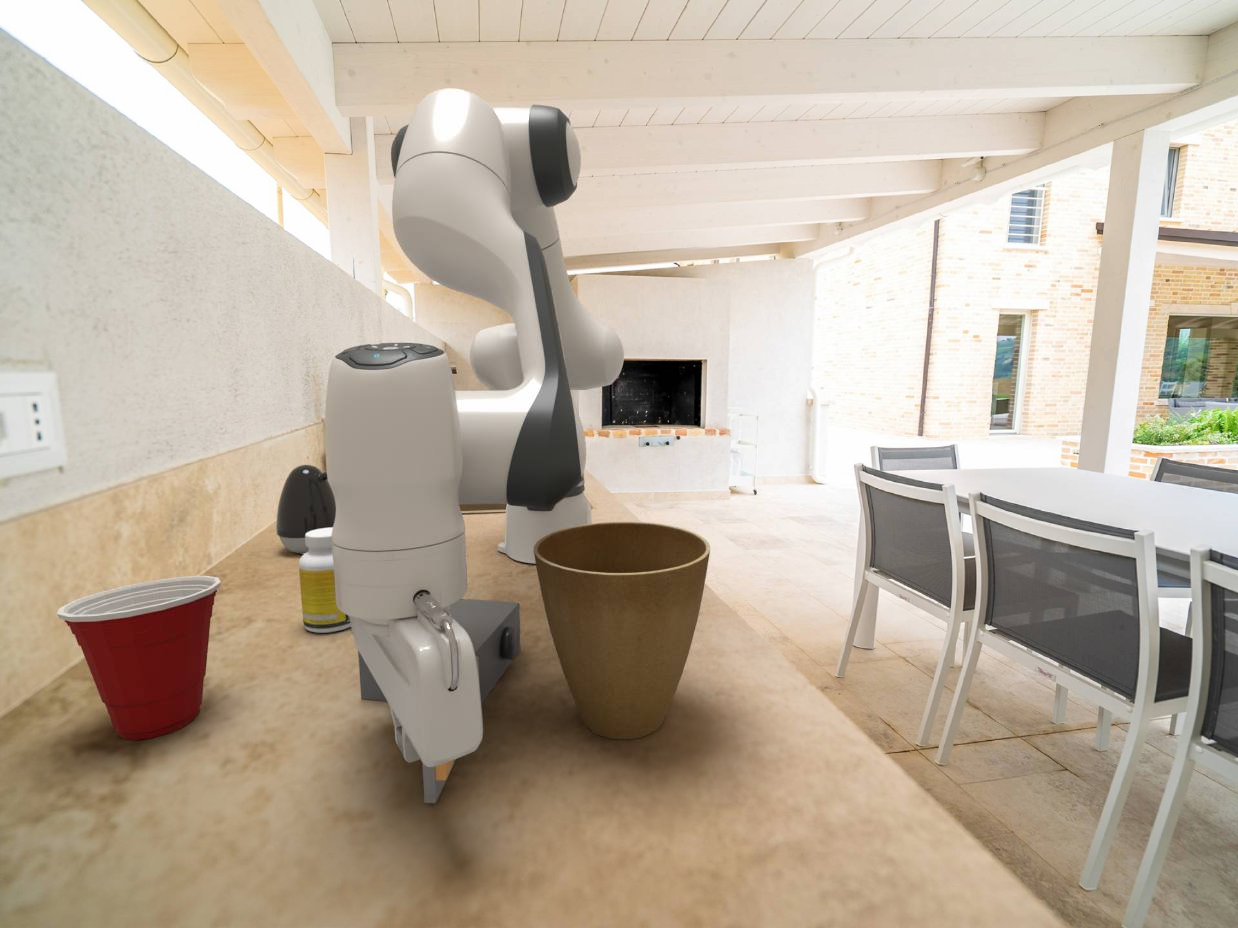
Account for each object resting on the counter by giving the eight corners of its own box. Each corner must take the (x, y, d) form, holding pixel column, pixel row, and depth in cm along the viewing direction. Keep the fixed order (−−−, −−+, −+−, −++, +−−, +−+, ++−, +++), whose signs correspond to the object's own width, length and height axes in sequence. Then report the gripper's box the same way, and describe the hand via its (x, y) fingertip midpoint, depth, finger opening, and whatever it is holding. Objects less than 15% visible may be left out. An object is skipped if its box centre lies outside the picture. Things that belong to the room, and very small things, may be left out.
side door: (421, 802, 40) (418, 736, 40) (468, 707, 52) (466, 655, 52) (445, 803, 40) (442, 737, 40) (487, 707, 52) (485, 655, 52)
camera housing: (424, 642, 66) (421, 591, 65) (529, 650, 64) (528, 598, 63) (360, 699, 54) (356, 638, 53) (487, 711, 52) (484, 648, 51)
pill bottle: (339, 637, 67) (332, 540, 66) (291, 632, 69) (283, 537, 67) (373, 615, 74) (367, 526, 72) (328, 611, 75) (322, 524, 73)
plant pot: (550, 673, 59) (548, 520, 57) (697, 675, 59) (700, 521, 56) (522, 770, 44) (516, 569, 42) (717, 774, 44) (722, 571, 42)
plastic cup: (211, 676, 58) (199, 561, 57) (251, 714, 52) (239, 586, 50) (64, 724, 50) (45, 592, 48) (89, 778, 43) (68, 626, 42)
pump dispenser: (326, 558, 97) (320, 469, 95) (265, 558, 97) (257, 469, 95) (355, 541, 107) (349, 460, 105) (299, 541, 107) (292, 460, 105)
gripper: (505, 609, 35) (511, 816, 37) (408, 535, 51) (415, 681, 53) (396, 636, 31) (409, 864, 33) (329, 547, 48) (341, 703, 50)
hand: (412, 750), depth 43 cm, fingers closed
